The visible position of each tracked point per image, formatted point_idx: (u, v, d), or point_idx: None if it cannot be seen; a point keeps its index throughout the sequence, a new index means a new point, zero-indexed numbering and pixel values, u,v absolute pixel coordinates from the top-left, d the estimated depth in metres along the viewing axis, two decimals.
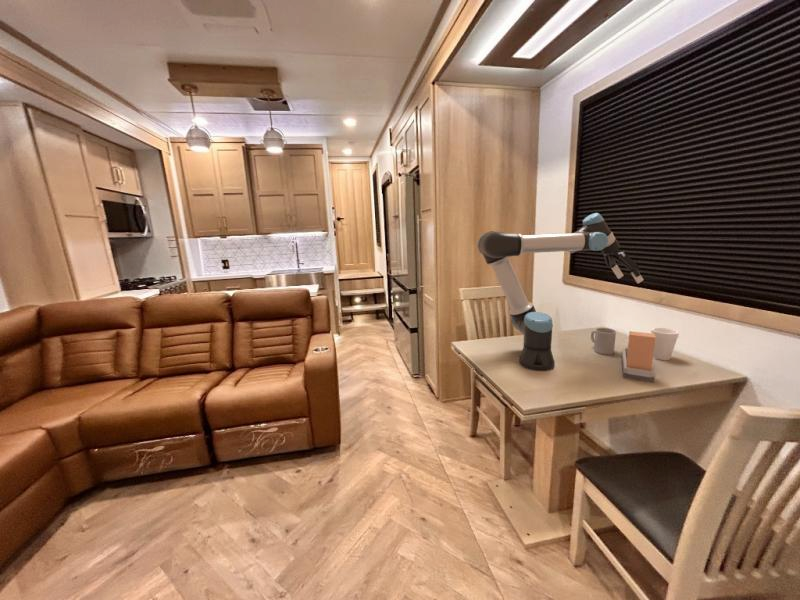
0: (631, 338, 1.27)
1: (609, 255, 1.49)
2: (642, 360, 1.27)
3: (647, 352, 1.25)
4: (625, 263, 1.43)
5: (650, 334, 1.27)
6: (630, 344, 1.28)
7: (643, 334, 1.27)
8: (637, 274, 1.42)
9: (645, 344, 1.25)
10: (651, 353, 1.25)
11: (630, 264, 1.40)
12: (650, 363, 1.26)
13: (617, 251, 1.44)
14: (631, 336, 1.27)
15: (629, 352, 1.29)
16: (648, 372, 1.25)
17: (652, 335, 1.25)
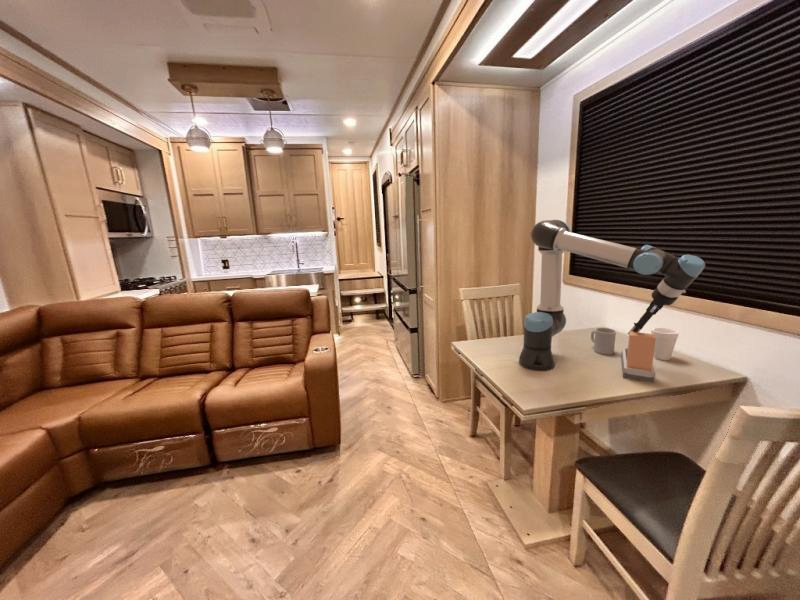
0: (631, 338, 1.27)
1: None
2: (642, 361, 1.27)
3: (647, 352, 1.25)
4: None
5: (650, 334, 1.26)
6: (630, 344, 1.28)
7: (643, 334, 1.27)
8: (634, 330, 1.30)
9: (646, 344, 1.25)
10: (651, 353, 1.24)
11: (641, 320, 1.25)
12: (650, 363, 1.25)
13: (657, 304, 1.23)
14: (631, 336, 1.27)
15: (629, 352, 1.28)
16: (648, 372, 1.25)
17: (652, 335, 1.25)
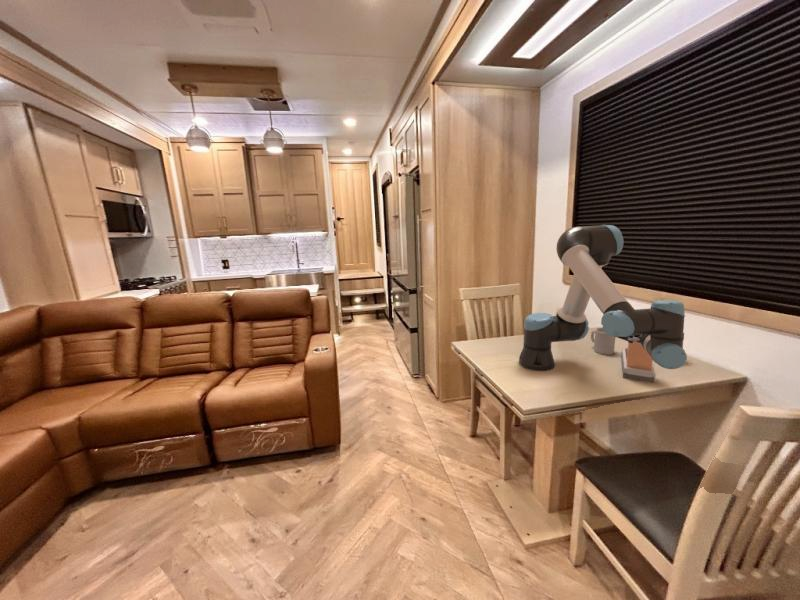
0: None
1: None
2: (642, 360, 1.27)
3: (647, 352, 1.25)
4: None
5: None
6: (630, 344, 1.28)
7: None
8: None
9: None
10: None
11: None
12: (650, 363, 1.26)
13: (640, 340, 1.09)
14: None
15: (629, 352, 1.29)
16: (648, 372, 1.25)
17: None
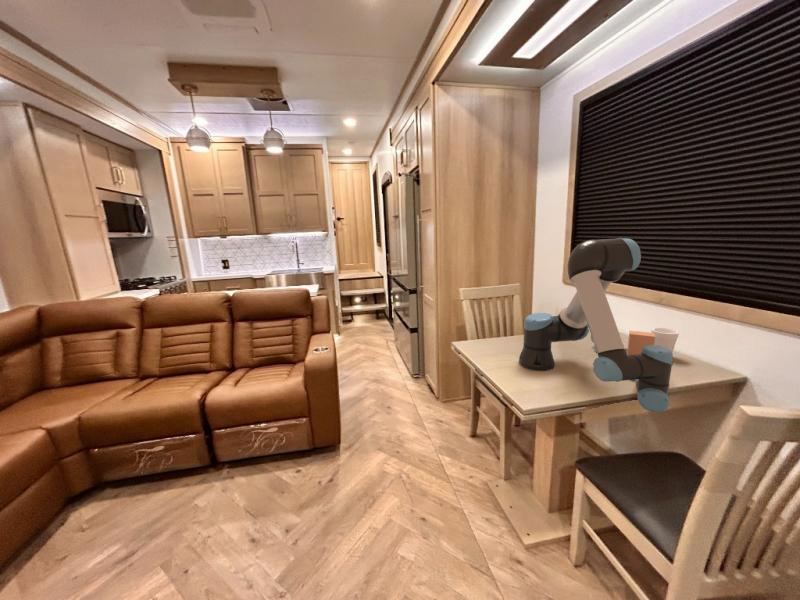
0: (631, 337, 1.28)
1: None
2: None
3: None
4: None
5: (650, 333, 1.27)
6: (630, 343, 1.29)
7: (643, 333, 1.28)
8: None
9: (645, 343, 1.26)
10: None
11: None
12: None
13: None
14: (631, 335, 1.28)
15: (629, 351, 1.30)
16: None
17: (652, 334, 1.26)
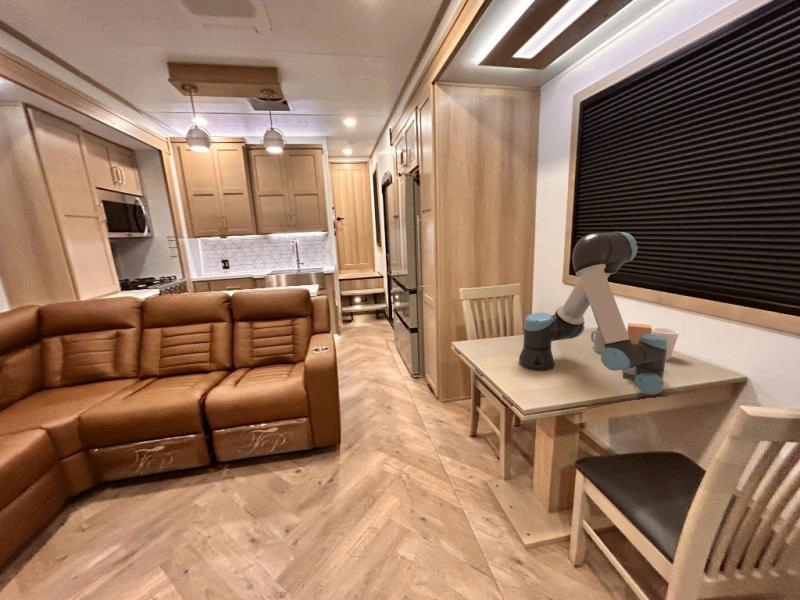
0: (629, 329, 1.38)
1: None
2: None
3: None
4: None
5: (647, 325, 1.37)
6: (628, 334, 1.39)
7: (641, 325, 1.38)
8: None
9: None
10: None
11: None
12: None
13: None
14: (629, 327, 1.38)
15: None
16: None
17: (649, 326, 1.36)
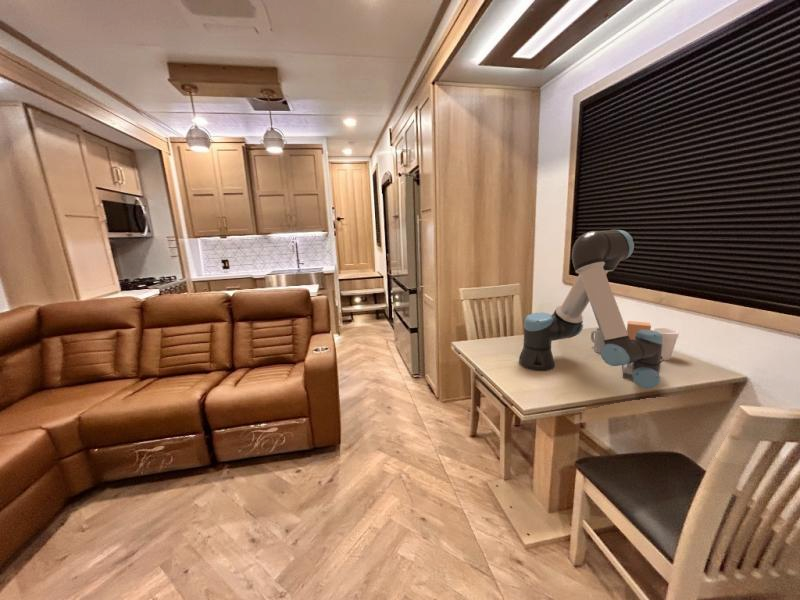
0: (629, 327, 1.41)
1: None
2: None
3: None
4: None
5: (646, 323, 1.40)
6: (628, 332, 1.42)
7: (640, 323, 1.41)
8: None
9: None
10: None
11: None
12: None
13: None
14: (629, 325, 1.41)
15: None
16: None
17: (648, 324, 1.39)
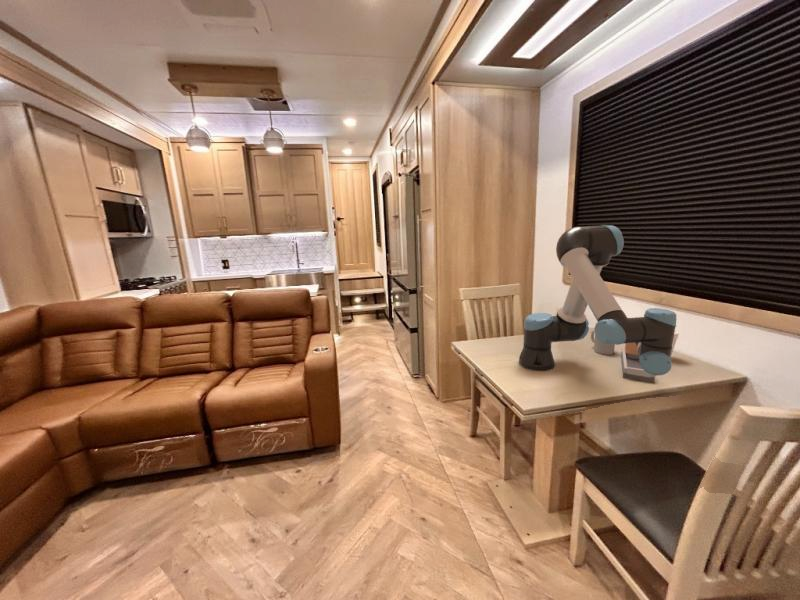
0: None
1: None
2: None
3: None
4: None
5: None
6: None
7: None
8: None
9: None
10: None
11: None
12: None
13: (636, 341, 1.12)
14: None
15: None
16: None
17: None
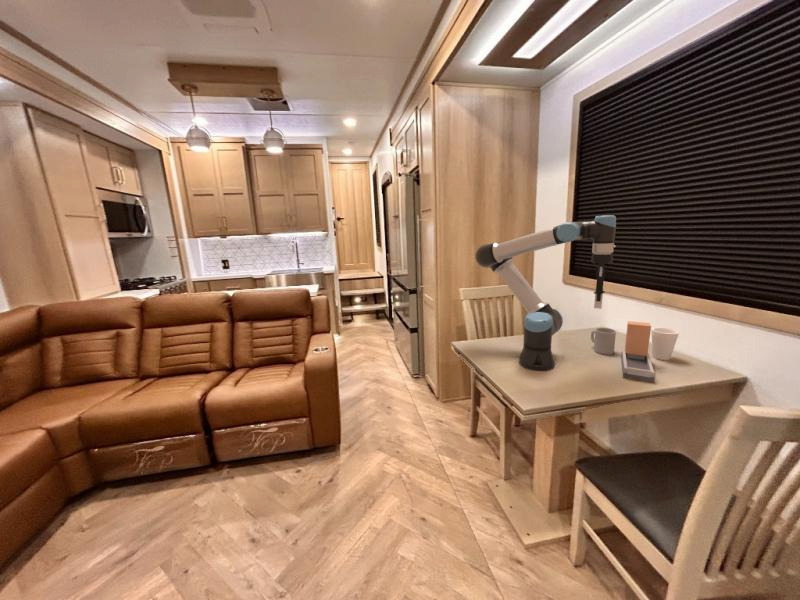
0: (629, 327, 1.41)
1: None
2: (639, 347, 1.40)
3: (644, 339, 1.39)
4: None
5: (646, 323, 1.40)
6: (628, 332, 1.41)
7: (640, 323, 1.40)
8: (598, 298, 1.35)
9: (642, 332, 1.38)
10: (647, 340, 1.38)
11: (597, 286, 1.32)
12: (646, 349, 1.39)
13: (601, 264, 1.30)
14: (629, 325, 1.40)
15: (627, 340, 1.42)
16: (648, 372, 1.25)
17: (648, 324, 1.38)
